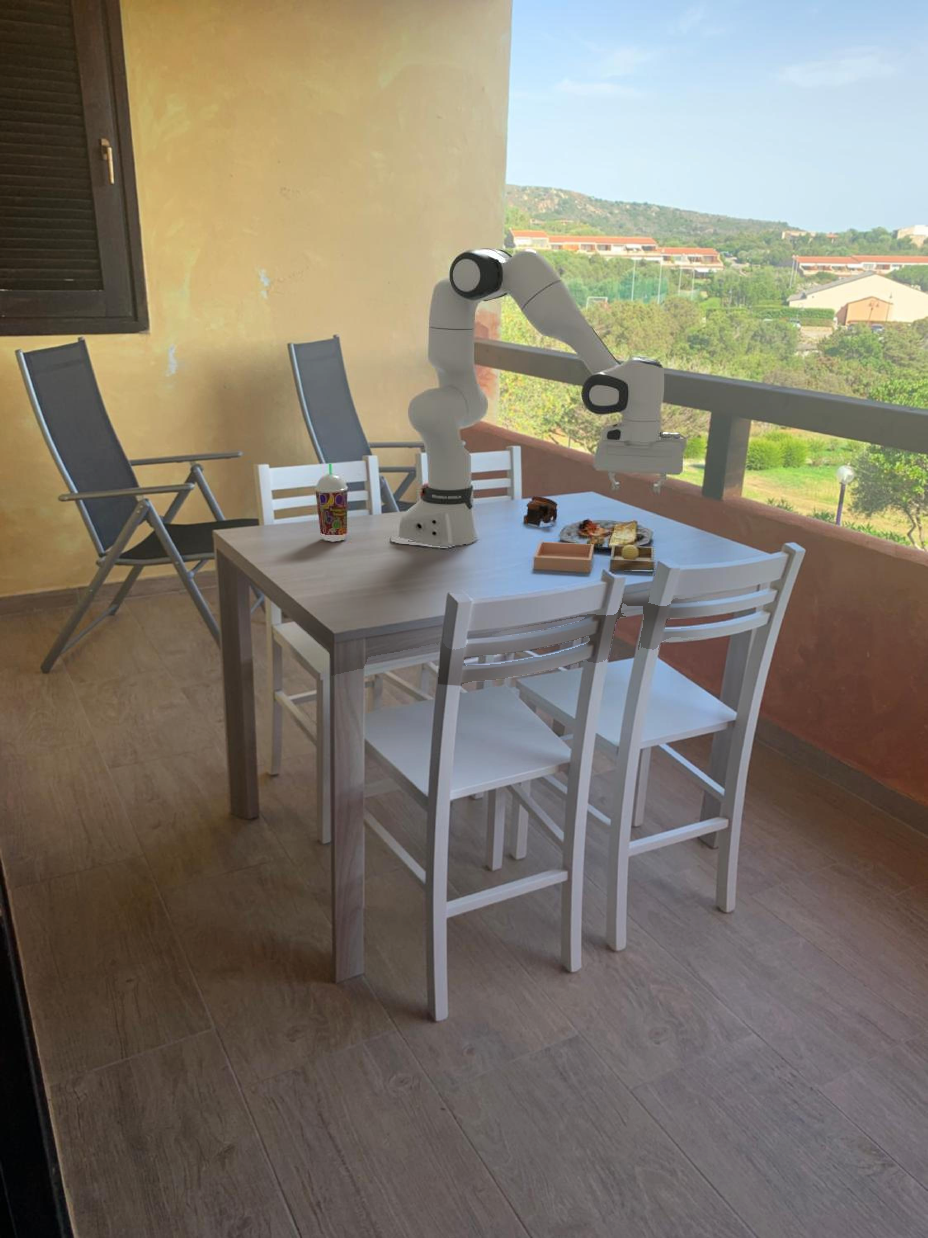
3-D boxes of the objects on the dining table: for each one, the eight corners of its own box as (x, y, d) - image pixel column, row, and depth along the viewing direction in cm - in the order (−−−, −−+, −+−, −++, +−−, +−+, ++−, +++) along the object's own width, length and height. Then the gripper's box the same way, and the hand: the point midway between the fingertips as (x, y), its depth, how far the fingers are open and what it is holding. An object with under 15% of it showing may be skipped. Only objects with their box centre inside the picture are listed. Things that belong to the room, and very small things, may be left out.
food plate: (571, 523, 252) (572, 511, 251) (656, 531, 246) (657, 518, 244) (551, 551, 230) (552, 537, 229) (644, 560, 224) (645, 546, 222)
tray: (609, 569, 213) (610, 559, 212) (611, 555, 224) (612, 545, 223) (653, 572, 212) (654, 561, 211) (653, 557, 223) (653, 547, 222)
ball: (623, 565, 216) (619, 549, 215) (623, 560, 220) (619, 544, 219) (640, 561, 215) (636, 545, 214) (640, 556, 219) (636, 540, 218)
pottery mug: (514, 522, 256) (523, 495, 256) (541, 534, 260) (550, 507, 261) (537, 521, 245) (545, 492, 246) (565, 533, 249) (573, 505, 250)
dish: (533, 569, 214) (533, 556, 213) (539, 553, 226) (540, 541, 225) (590, 572, 212) (590, 559, 211) (593, 555, 224) (593, 544, 223)
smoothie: (336, 545, 233) (332, 467, 226) (311, 541, 237) (306, 464, 230) (356, 537, 240) (353, 462, 232) (332, 533, 244) (327, 458, 237)
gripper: (687, 431, 208) (681, 490, 213) (596, 427, 211) (592, 486, 216) (688, 435, 202) (682, 497, 207) (595, 432, 206) (591, 492, 211)
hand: (635, 491), depth 212 cm, fingers open, 8 cm apart
